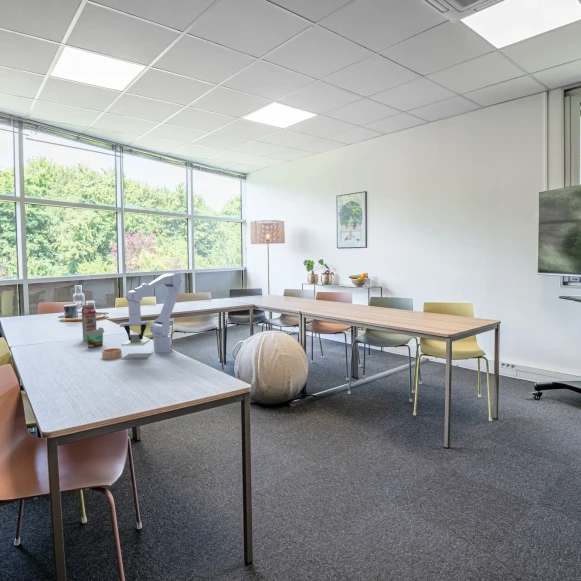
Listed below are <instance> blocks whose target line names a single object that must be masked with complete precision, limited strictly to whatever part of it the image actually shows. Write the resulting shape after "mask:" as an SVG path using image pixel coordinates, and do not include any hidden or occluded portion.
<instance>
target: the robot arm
mask: <svg viewBox="0 0 581 581" xmlns="http://www.w3.org/2000/svg"><path fill="white" fill-rule="evenodd" d="M182 282H183V280H182V277H181V275H180V274H179V273H169V272H168V273H167V272H166V273H164V274H161V275H160V276H159V277H157V278H156V279H154V280H152V281H151V282H150V283H141V284H140V286H138V287H135V288H134V290H129V291H128V292H127V293H126V295H125V299H126V301H127V305H128V321H126V322H120V323H119V327H120V328H124V329H125V332H126V334H127V336H128V340H129V341H130V340H131V338H130V335H131V328H130V327H135V326H136V327H137V326H140V333H141V339H144V334H145V331H146V329H147V326H150V328H149V330H150V333H151V334H152V336H153V350H152V351H151V353H153V354H155V353H170V352H171V351H172V350H173V339H172V335H169V333H170V331H171V328H170V327H171V325H172V324H171V322H170V318H171V314H172V312H173V310H174V308H175V305H176V303H177V300H178V297H179V294H180V293H181V292H180V291H181V284H182ZM161 285H162V286H163V285H164V286H165V287H166V289H167V290H168V293H167V296H166V297H165V299H164V300H165V301H164V303H163V306H162V307H161V308H162V309H161V311H160V314H159V316H158V317H157V318H156V319H154V321H153V323H152V324H151V321H150V320H142V318H141V315H142V314H141V301H142V300H143V298H144V297H146V296H148V295H149V294H151V293H152V292H153V290H154V289H156V288H159V287H160V286H161Z"/></svg>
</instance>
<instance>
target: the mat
mask: <svg viewBox="0 0 581 581" xmlns="http://www.w3.org/2000/svg"><path fill="white" fill-rule="evenodd" d="M153 354H154V353H152V352H150V353H149V352H143V353H141V352H140V353H139V352H137V353H135V352H134V353H128V354H126V355H125V356H124V357H122V358H121V359H120V361H130V360H131V361H135V360H137V361H139V360H140V361H141V360H148V359H149V358H150V357H151V356H152V355H153Z"/></svg>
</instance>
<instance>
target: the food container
mask: <svg viewBox="0 0 581 581" xmlns="http://www.w3.org/2000/svg"><path fill="white" fill-rule="evenodd" d="M104 333H105V330H104V328H103V327H98V329H97V328H96V330H92V331H86V335H87V341H86V342H87V348H88V349H92V348H93V349H94V348H101V347H102V346H103V345H104Z"/></svg>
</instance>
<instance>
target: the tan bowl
mask: <svg viewBox="0 0 581 581" xmlns="http://www.w3.org/2000/svg"><path fill="white" fill-rule="evenodd" d="M122 356H123V355H122V349H121V348H118V347H114V348H112V347H111V348H105V349H103V350H102V351H101V357H102V359H103V360H115V359H119V358H121V357H122Z"/></svg>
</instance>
